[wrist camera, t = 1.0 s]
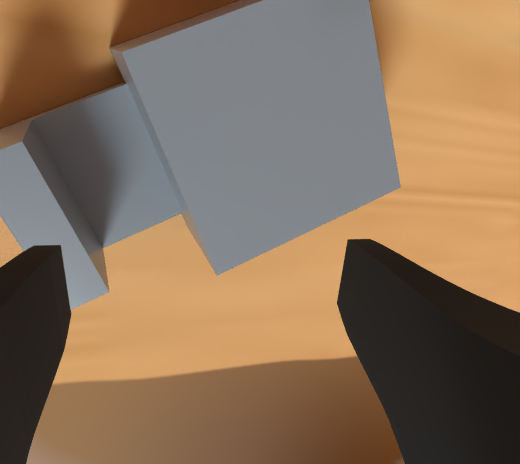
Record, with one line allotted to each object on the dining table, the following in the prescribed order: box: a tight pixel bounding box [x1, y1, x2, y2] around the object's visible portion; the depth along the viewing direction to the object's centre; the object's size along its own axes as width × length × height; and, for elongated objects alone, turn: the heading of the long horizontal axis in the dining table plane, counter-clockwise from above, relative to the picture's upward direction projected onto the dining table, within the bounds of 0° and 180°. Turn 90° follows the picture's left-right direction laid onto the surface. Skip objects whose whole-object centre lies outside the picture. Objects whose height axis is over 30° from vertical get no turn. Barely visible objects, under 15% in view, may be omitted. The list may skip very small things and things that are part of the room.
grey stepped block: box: [0, 0, 400, 310], centre depth 22 cm, size 17×10×6 cm, turn 108°
